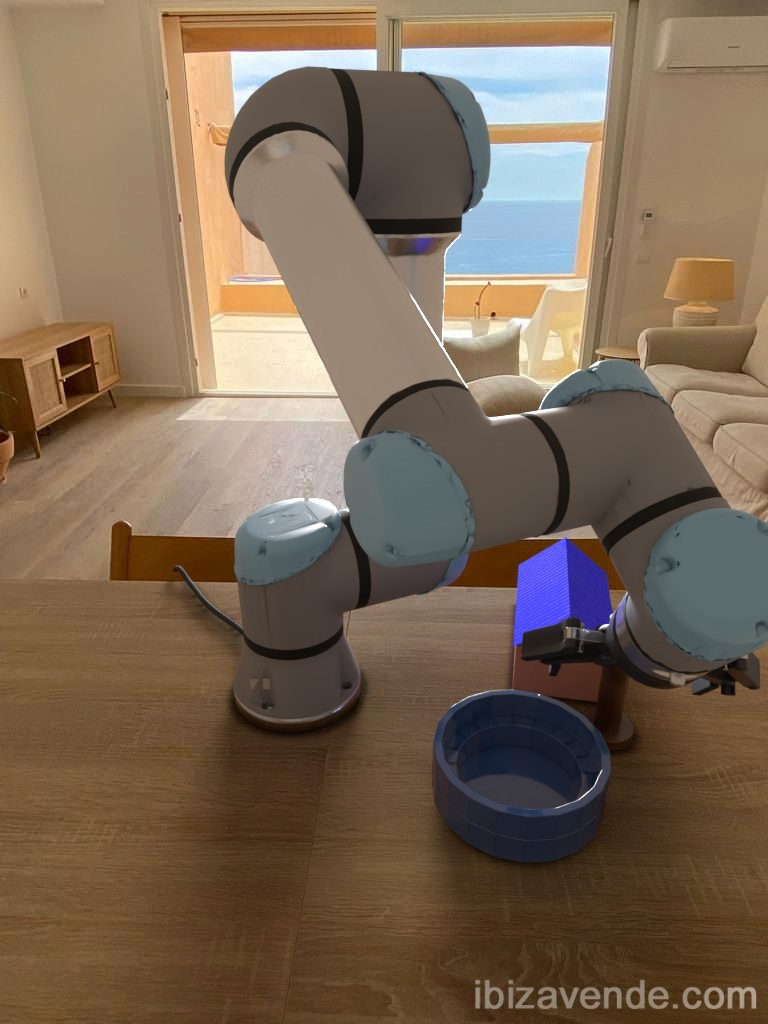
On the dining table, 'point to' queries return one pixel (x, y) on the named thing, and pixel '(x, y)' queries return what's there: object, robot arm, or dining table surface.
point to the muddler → (612, 709)
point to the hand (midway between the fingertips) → (623, 671)
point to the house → (559, 617)
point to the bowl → (520, 775)
